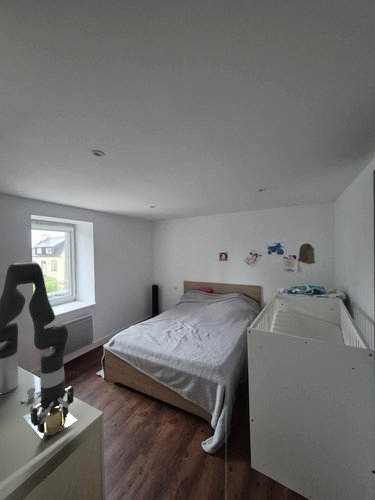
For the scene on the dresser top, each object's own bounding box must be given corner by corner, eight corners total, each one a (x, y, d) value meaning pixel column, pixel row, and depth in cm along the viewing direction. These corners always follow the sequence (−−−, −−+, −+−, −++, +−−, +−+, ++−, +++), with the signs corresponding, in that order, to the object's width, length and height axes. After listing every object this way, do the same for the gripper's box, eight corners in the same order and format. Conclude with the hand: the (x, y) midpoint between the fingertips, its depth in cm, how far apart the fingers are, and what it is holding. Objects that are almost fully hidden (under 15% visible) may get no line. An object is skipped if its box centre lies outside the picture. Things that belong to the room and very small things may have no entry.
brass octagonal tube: (39, 429, 74) (38, 413, 74) (59, 416, 80) (59, 401, 80) (47, 438, 70) (47, 421, 71) (68, 423, 76) (68, 408, 76)
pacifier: (21, 400, 93) (21, 407, 89) (20, 386, 93) (20, 393, 89) (40, 393, 98) (41, 399, 93) (40, 380, 98) (41, 385, 94)
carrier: (22, 419, 82) (22, 407, 82) (52, 402, 91) (52, 390, 91) (45, 445, 70) (45, 431, 70) (77, 422, 80) (76, 409, 80)
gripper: (67, 367, 83) (68, 407, 83) (25, 387, 71) (26, 434, 71) (77, 373, 79) (78, 415, 79) (34, 395, 67) (35, 445, 67)
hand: (54, 424), depth 75 cm, fingers closed on brass octagonal tube, 7 cm apart
